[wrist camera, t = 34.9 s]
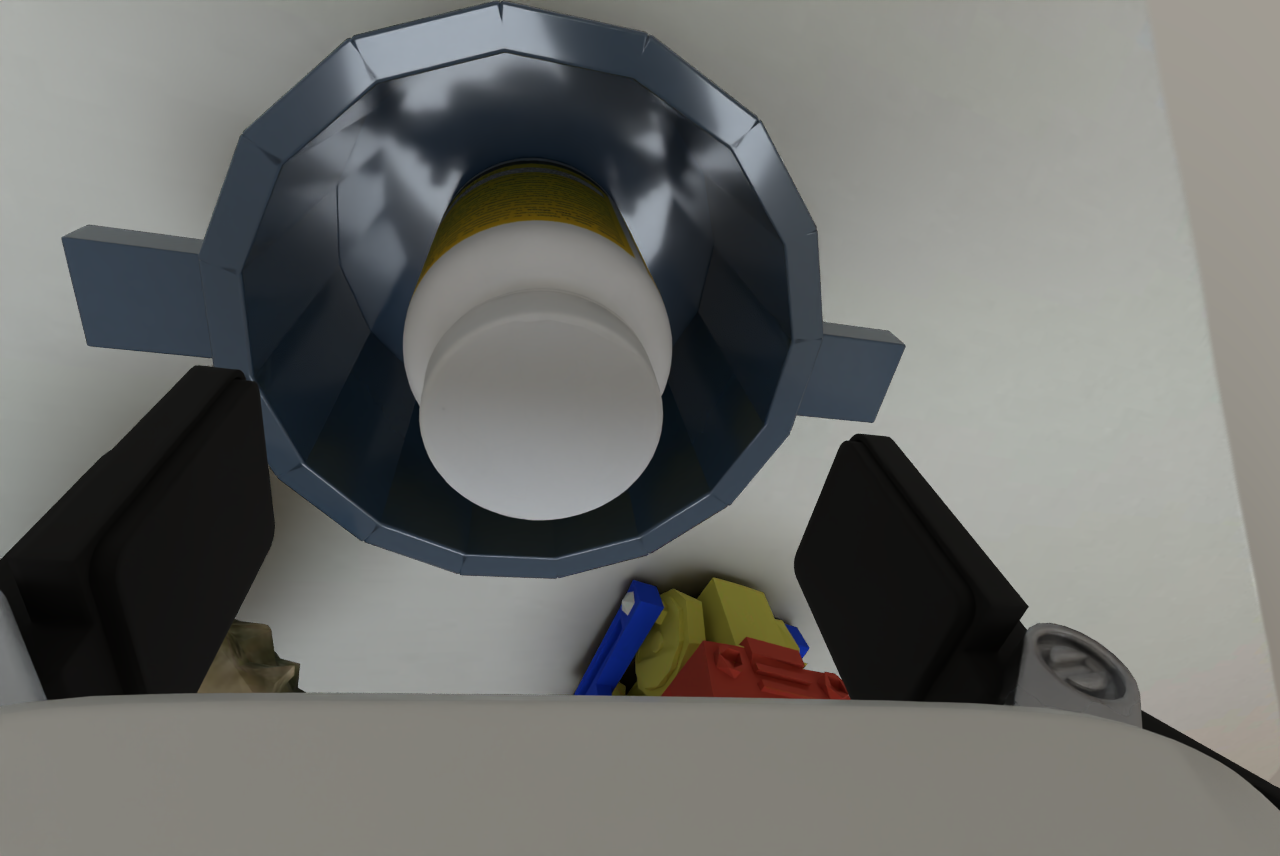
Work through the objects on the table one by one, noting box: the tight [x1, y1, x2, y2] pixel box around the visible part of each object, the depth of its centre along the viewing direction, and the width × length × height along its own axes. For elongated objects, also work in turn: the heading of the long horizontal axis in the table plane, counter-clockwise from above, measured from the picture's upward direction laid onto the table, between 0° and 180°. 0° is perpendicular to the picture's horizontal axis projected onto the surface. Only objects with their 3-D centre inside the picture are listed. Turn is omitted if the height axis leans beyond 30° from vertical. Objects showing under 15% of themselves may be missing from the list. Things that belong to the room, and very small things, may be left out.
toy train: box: [574, 577, 851, 700], centre depth 28 cm, size 10×16×15 cm, turn 152°
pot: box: [62, 1, 905, 579], centre depth 19 cm, size 14×19×8 cm
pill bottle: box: [403, 158, 672, 520], centre depth 17 cm, size 6×6×11 cm
